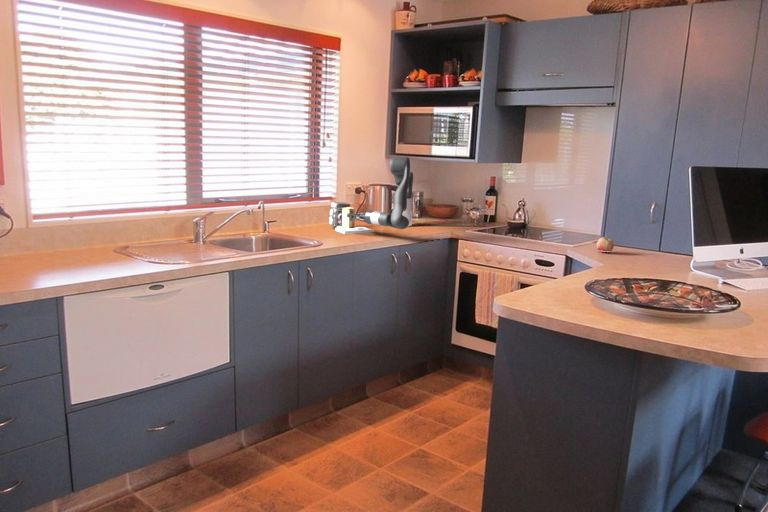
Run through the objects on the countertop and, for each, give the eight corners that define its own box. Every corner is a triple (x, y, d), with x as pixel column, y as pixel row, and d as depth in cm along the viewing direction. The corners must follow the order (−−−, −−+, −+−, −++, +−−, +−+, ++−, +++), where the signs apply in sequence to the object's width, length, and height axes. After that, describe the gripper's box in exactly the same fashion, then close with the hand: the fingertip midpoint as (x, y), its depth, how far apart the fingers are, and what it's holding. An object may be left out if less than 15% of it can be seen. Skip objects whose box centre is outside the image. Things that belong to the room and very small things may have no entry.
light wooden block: (347, 228, 348) (348, 207, 345) (354, 229, 345) (355, 208, 342) (341, 229, 344) (342, 207, 341) (348, 230, 341) (349, 208, 338)
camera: (327, 227, 358) (327, 201, 355) (344, 226, 362) (344, 201, 360) (333, 230, 349) (334, 203, 346) (350, 229, 353) (351, 203, 350)
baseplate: (363, 229, 356) (363, 225, 355) (373, 232, 346) (373, 228, 345) (335, 230, 347) (335, 226, 347) (344, 233, 337) (344, 229, 336)
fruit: (606, 254, 309) (608, 239, 308) (592, 252, 316) (594, 236, 314) (615, 253, 314) (617, 238, 313) (602, 250, 320) (603, 235, 319)
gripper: (383, 210, 336) (360, 207, 346) (367, 211, 325) (344, 208, 335) (382, 223, 338) (359, 220, 347) (366, 225, 327) (343, 222, 336)
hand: (352, 214), depth 341 cm, fingers open, 8 cm apart
